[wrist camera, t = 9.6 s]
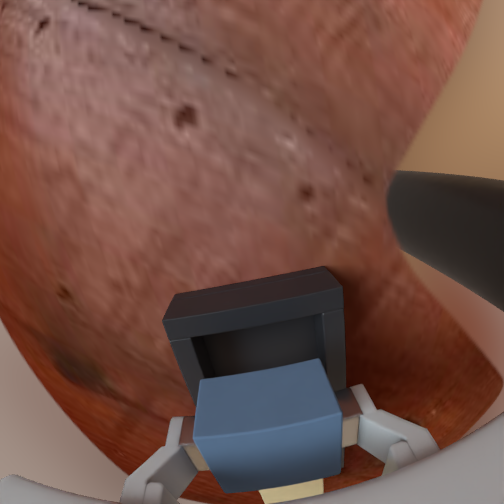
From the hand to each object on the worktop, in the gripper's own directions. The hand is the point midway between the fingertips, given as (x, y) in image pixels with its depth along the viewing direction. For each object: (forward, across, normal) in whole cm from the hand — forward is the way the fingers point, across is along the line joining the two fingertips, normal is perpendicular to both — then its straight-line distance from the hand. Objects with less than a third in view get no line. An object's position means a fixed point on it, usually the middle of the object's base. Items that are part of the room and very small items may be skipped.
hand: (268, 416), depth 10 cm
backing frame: (+5, 0, +3) cm, 6 cm away
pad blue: (+1, 0, 0) cm, 1 cm away
